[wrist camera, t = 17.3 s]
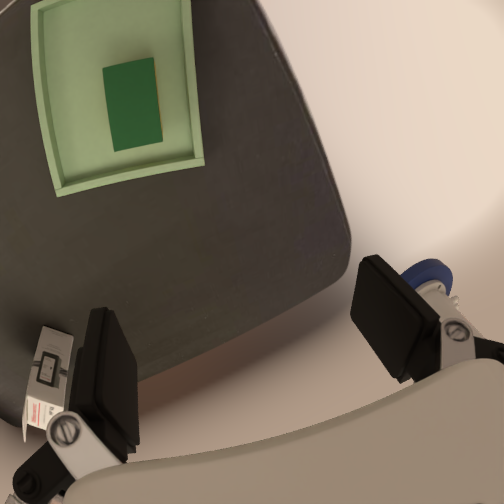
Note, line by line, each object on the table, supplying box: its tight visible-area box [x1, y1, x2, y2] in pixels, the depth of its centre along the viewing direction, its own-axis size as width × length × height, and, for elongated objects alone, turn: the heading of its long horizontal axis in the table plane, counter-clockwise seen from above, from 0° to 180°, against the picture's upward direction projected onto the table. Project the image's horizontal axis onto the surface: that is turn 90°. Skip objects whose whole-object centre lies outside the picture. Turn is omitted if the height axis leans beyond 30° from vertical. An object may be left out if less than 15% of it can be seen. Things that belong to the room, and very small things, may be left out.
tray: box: [31, 0, 205, 197], centre depth 21 cm, size 20×15×2 cm
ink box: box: [22, 326, 73, 442], centre depth 29 cm, size 8×5×15 cm, turn 147°
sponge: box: [102, 57, 163, 152], centre depth 22 cm, size 7×4×4 cm, turn 3°
